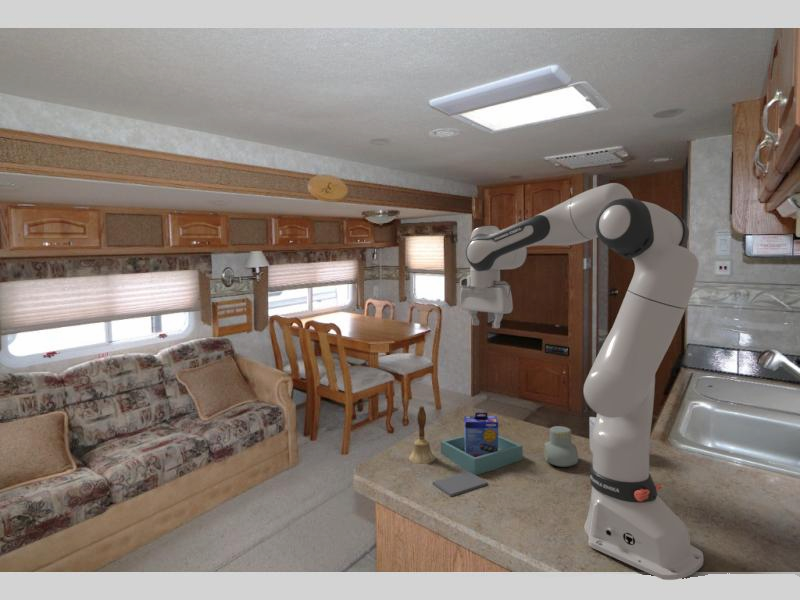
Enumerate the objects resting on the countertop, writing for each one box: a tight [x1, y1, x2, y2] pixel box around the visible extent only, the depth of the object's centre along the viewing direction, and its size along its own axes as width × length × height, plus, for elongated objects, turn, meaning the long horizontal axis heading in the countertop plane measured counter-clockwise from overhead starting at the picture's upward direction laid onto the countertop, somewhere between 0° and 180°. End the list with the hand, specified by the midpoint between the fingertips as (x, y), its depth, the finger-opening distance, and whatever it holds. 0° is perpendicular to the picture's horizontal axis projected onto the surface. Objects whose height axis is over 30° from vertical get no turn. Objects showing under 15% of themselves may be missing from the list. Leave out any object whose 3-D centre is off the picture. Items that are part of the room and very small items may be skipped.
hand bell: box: [408, 406, 436, 465], centre depth 137 cm, size 8×8×16 cm
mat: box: [432, 471, 489, 497], centre depth 120 cm, size 8×12×1 cm, turn 120°
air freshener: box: [543, 425, 579, 468], centre depth 132 cm, size 11×8×10 cm
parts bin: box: [440, 434, 524, 476], centre depth 137 cm, size 16×18×4 cm
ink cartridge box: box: [463, 412, 499, 457], centre depth 136 cm, size 10×6×14 cm, turn 87°
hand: (485, 326), depth 138 cm, fingers open, 8 cm apart
